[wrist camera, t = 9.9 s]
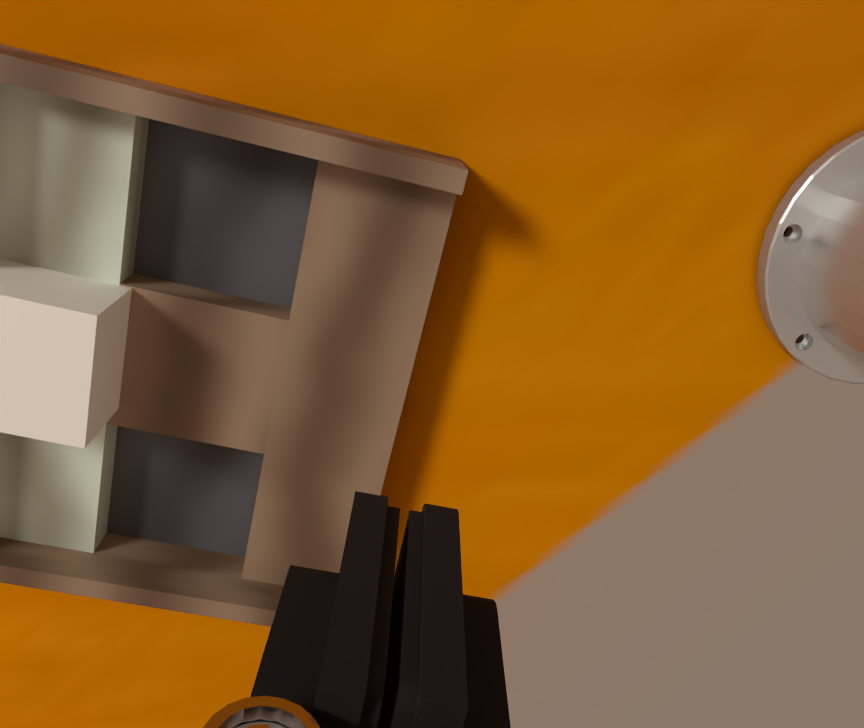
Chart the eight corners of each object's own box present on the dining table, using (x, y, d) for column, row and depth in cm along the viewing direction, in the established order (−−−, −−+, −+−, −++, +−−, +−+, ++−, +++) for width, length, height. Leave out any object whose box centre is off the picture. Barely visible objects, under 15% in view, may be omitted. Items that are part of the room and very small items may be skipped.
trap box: (460, 159, 33) (468, 170, 29) (352, 588, 41) (348, 639, 38) (-6, 42, 30) (-62, 38, 27) (-20, 523, 39) (-65, 571, 35)
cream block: (132, 288, 32) (97, 315, 29) (118, 408, 34) (84, 448, 31) (-10, 256, 32) (-65, 280, 28) (-16, 381, 34) (-67, 419, 30)
